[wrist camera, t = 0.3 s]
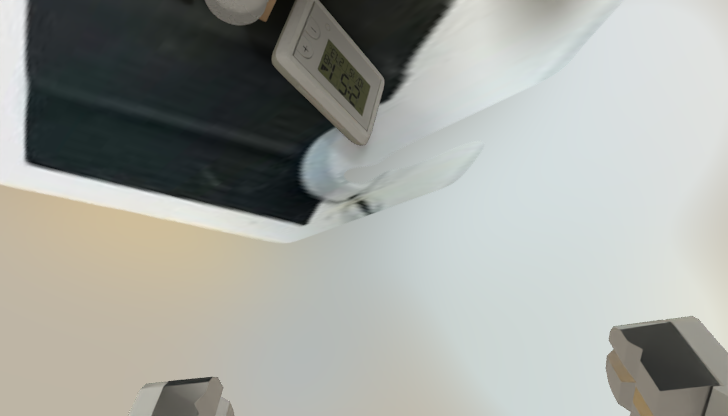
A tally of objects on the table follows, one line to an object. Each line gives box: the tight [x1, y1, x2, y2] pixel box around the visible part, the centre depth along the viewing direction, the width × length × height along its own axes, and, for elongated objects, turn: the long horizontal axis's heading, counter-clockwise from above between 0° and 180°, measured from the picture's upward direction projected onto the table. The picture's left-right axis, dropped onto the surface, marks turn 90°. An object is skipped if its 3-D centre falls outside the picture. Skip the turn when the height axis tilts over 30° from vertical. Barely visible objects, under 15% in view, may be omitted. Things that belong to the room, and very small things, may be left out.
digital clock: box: [272, 0, 384, 145], centre depth 58 cm, size 16×9×11 cm, turn 25°
